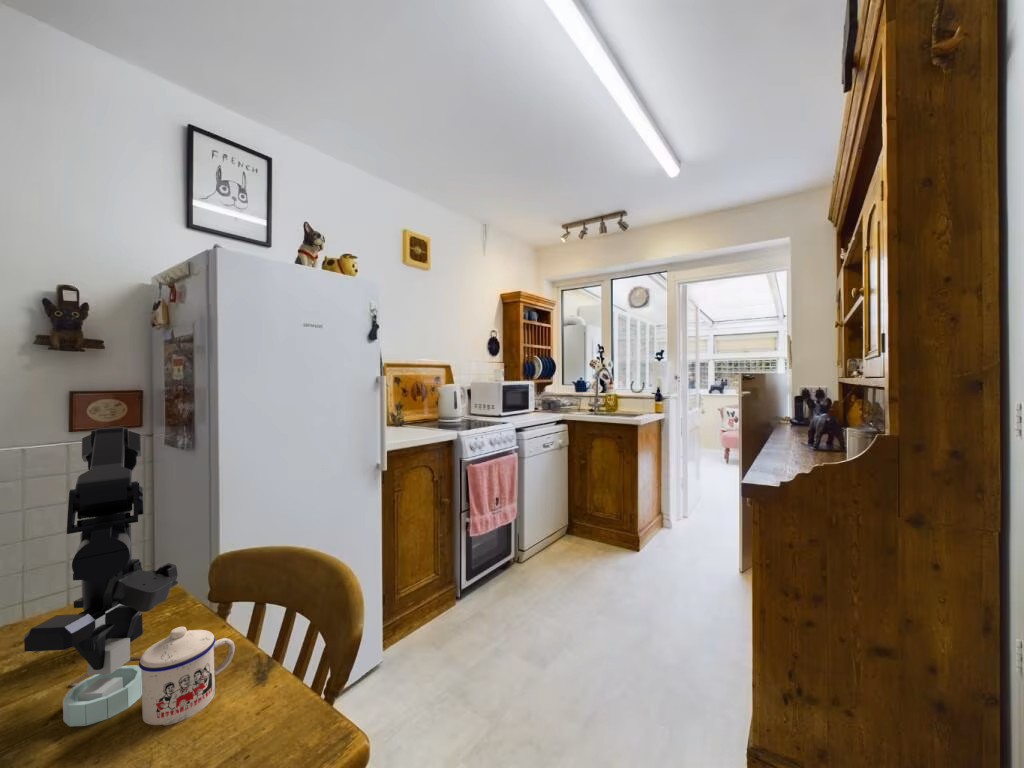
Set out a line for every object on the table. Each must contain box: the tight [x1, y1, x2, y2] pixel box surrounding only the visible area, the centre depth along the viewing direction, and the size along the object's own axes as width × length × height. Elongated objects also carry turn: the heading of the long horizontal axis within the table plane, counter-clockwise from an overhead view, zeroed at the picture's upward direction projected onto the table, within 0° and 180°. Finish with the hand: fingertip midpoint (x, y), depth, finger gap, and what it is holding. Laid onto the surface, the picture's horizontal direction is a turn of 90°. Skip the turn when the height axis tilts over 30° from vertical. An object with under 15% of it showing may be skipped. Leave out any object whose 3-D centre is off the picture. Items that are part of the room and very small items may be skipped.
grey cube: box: [86, 638, 131, 676], centre depth 66 cm, size 3×3×3 cm
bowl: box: [62, 664, 142, 727], centre depth 65 cm, size 9×9×4 cm
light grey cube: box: [78, 677, 123, 702], centre depth 64 cm, size 3×3×3 cm
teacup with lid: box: [138, 626, 236, 727], centre depth 66 cm, size 12×9×12 cm
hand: (110, 661), depth 66 cm, fingers closed on grey cube, 3 cm apart
